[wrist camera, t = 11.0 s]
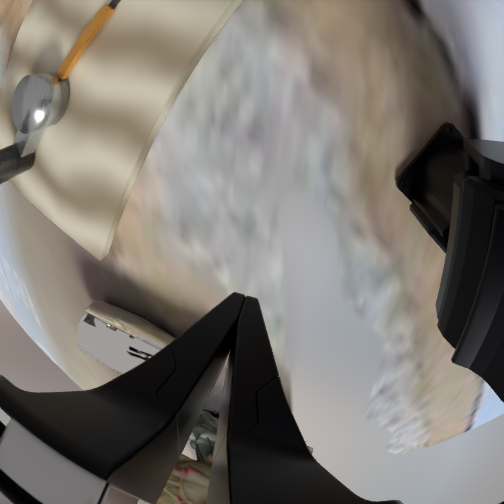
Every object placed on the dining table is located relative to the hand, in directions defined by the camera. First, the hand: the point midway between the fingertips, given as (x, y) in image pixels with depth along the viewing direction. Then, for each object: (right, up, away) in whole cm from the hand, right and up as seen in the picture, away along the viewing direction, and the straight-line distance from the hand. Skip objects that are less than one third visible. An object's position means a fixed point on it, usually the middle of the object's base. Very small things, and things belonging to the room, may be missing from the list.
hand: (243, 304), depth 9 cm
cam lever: (-17, +15, +7) cm, 23 cm away
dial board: (-16, +16, +8) cm, 24 cm away
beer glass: (-4, -12, +18) cm, 22 cm away
